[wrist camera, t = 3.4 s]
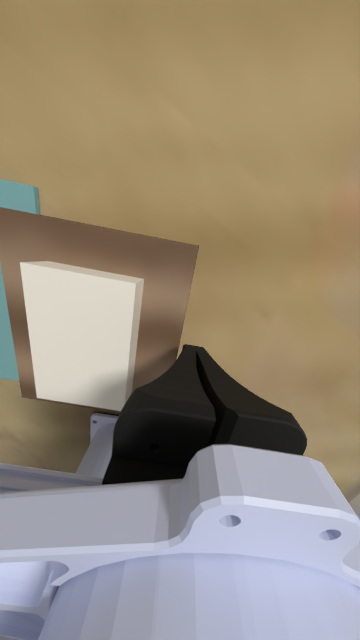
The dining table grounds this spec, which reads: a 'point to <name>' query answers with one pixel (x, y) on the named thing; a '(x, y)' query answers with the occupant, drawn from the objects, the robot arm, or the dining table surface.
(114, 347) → the tile
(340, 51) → the dining table surface
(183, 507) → the robot arm
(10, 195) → the mat
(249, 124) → the dining table surface
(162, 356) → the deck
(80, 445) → the dining table surface
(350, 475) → the dining table surface
